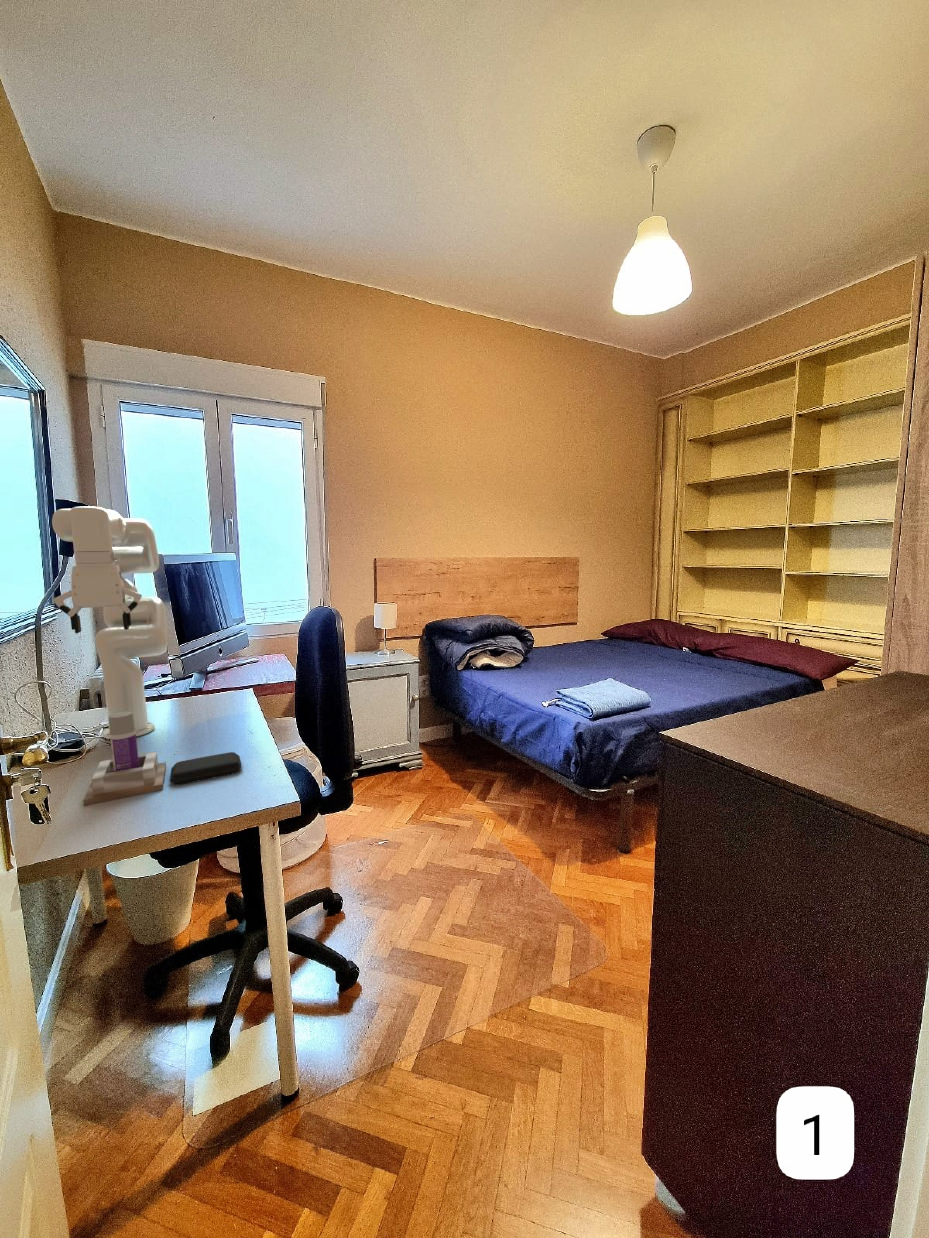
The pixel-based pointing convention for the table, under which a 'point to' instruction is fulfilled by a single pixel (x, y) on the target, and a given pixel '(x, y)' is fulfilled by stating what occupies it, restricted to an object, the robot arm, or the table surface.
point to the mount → (126, 780)
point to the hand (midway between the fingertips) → (102, 630)
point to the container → (123, 741)
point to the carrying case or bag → (205, 768)
